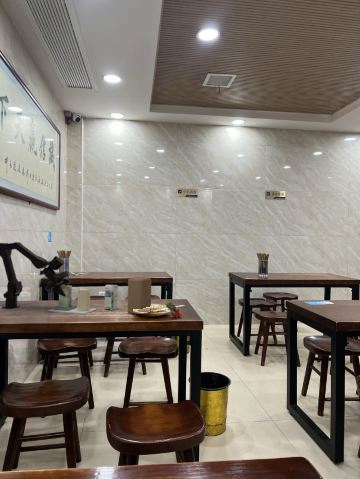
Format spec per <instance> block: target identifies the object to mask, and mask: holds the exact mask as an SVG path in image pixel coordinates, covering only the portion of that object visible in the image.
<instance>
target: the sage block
mask: <svg viewBox="0 0 360 479" xmlns="http://www.w3.org/2000/svg"><path fill="white" fill-rule="evenodd" d="M61 289H62V290H63V292H64V293H65V295H66V296H62V295H60V294H58V296H59V297H58V300H59V301H58V306H59V307H70V306H71V305H72V296H73V294H72V293H73V285H68V286H67V285H64V286H61Z"/></svg>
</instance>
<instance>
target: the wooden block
mask: <svg viewBox="0 0 360 479" xmlns="http://www.w3.org/2000/svg"><path fill="white" fill-rule="evenodd" d="M150 306H151V307H152V278H150V277H139V276H138V277H137V276H136V277H130V278H128V279H127V313H128V314H130V313H134V312H133V309H143V308H146V307H150Z"/></svg>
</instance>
